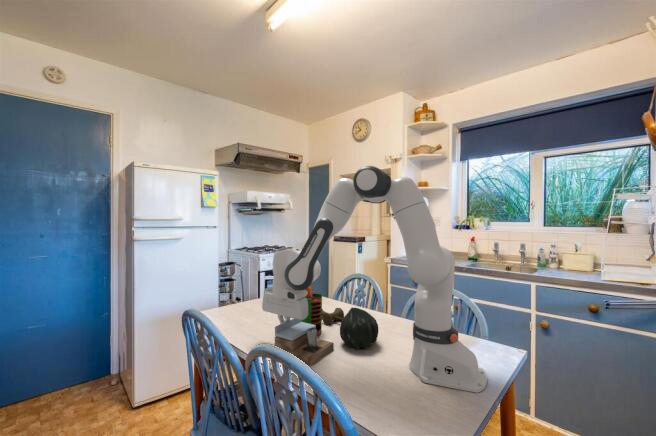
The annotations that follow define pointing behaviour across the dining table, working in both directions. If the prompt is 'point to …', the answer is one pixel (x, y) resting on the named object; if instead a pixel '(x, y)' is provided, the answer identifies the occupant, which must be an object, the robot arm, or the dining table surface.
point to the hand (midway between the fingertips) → (284, 326)
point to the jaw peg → (312, 340)
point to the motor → (314, 309)
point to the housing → (305, 348)
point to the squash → (358, 329)
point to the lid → (292, 329)
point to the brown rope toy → (332, 316)
